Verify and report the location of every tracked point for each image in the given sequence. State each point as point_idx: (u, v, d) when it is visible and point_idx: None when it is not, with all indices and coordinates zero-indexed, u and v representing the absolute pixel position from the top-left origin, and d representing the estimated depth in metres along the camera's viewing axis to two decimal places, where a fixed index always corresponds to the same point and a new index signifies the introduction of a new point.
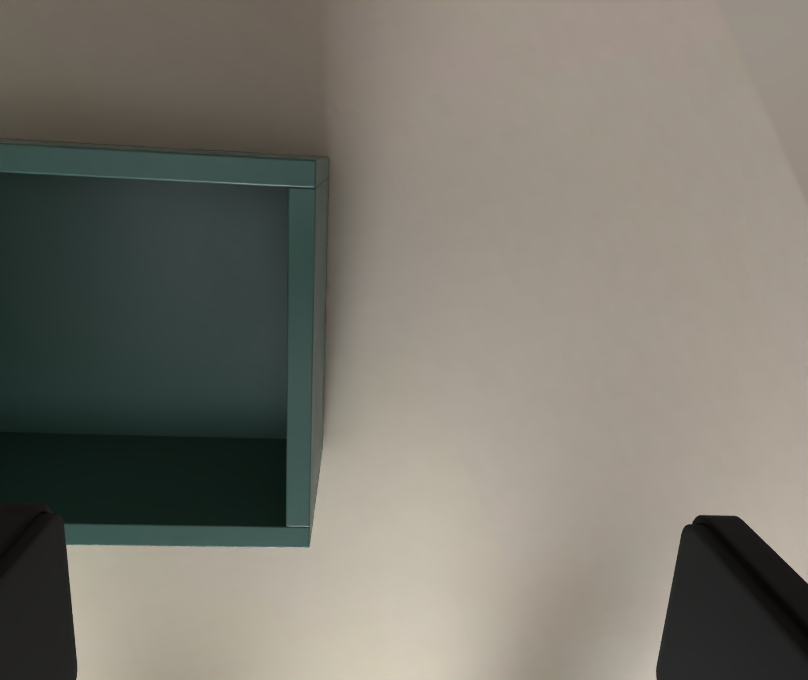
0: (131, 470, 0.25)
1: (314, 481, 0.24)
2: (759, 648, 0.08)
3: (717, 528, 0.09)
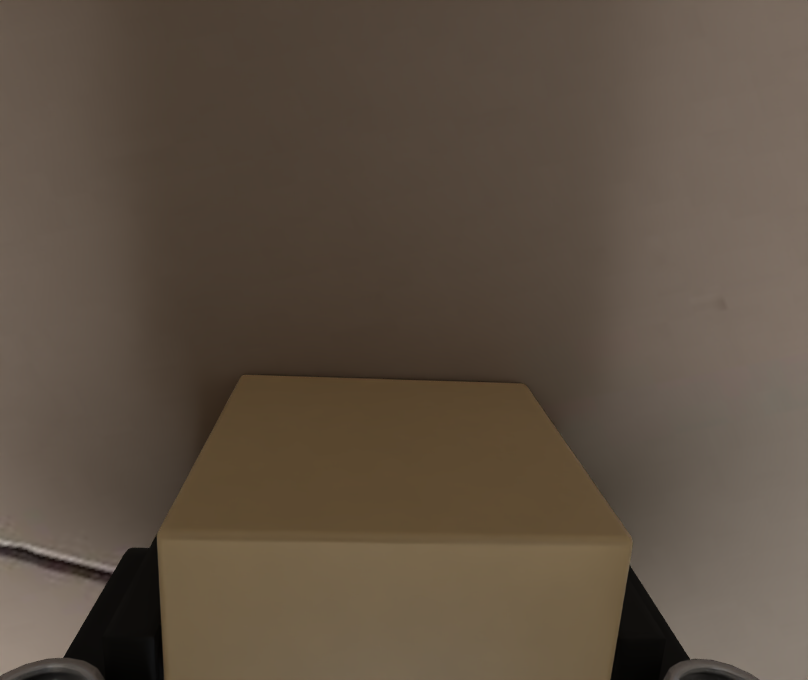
0: None
1: None
2: None
3: None
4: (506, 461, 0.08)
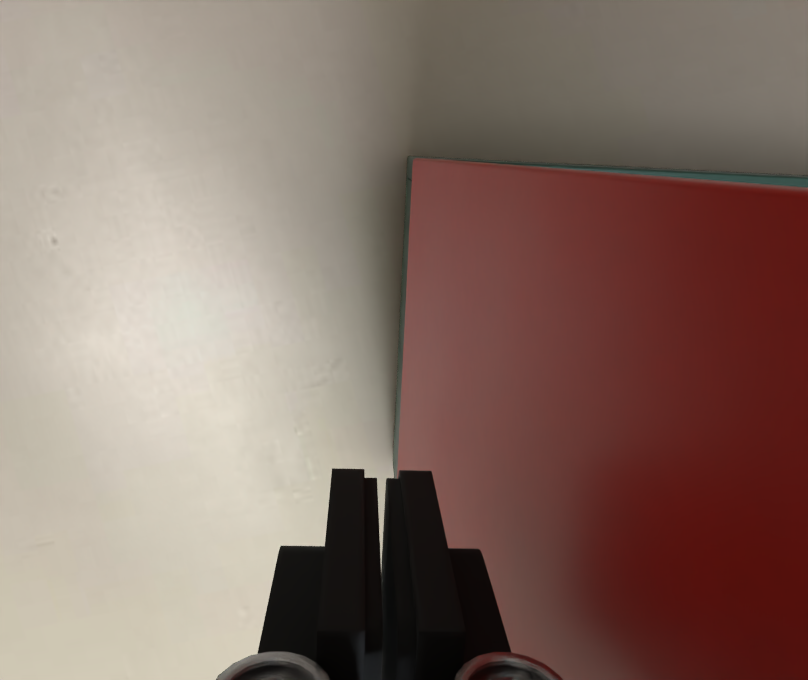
0: None
1: None
2: (390, 580, 0.09)
3: (404, 480, 0.10)
4: None
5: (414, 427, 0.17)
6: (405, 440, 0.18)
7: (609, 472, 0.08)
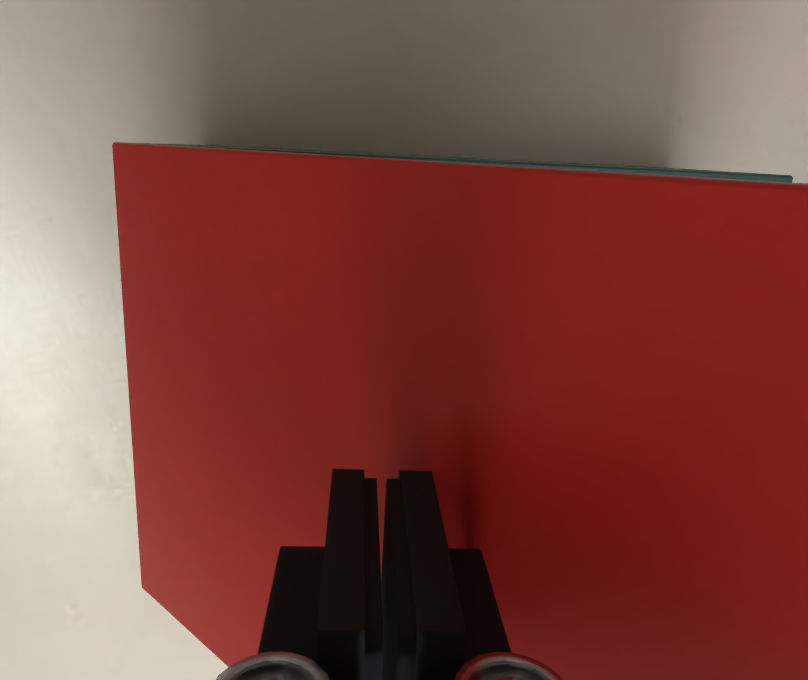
0: None
1: None
2: (390, 580, 0.09)
3: (403, 480, 0.10)
4: None
5: (158, 417, 0.17)
6: (144, 433, 0.18)
7: (433, 391, 0.11)
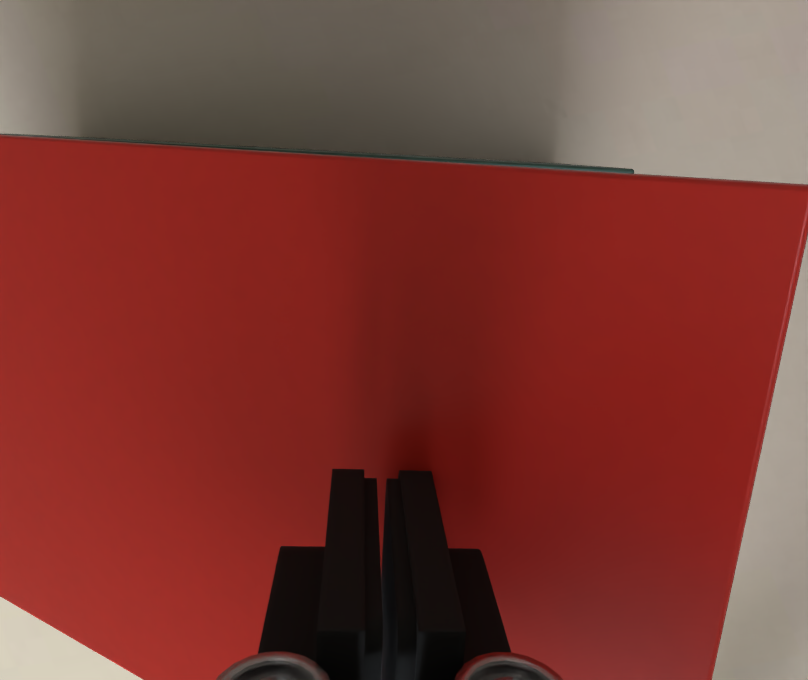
0: None
1: None
2: (390, 580, 0.09)
3: (404, 480, 0.10)
4: None
5: None
6: None
7: (264, 352, 0.12)
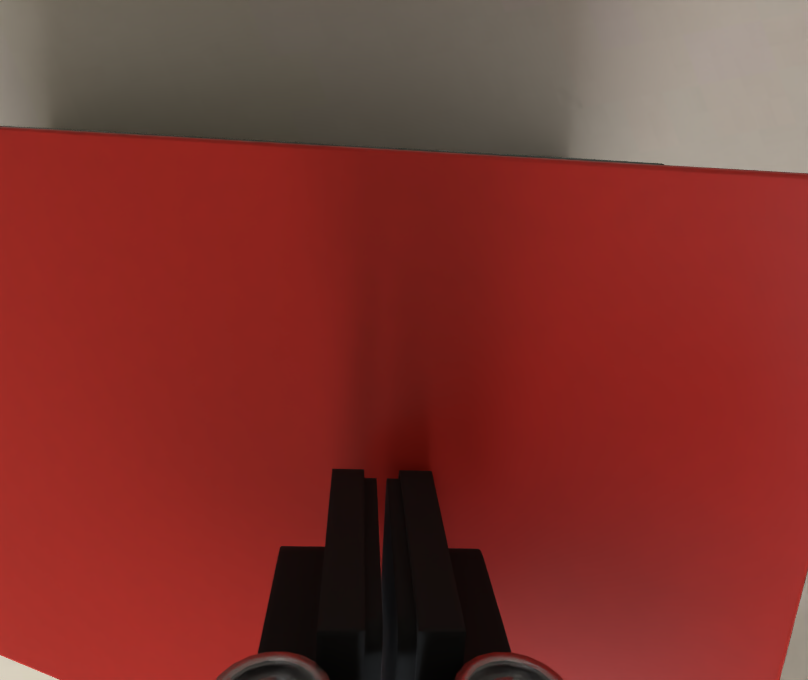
0: None
1: None
2: (390, 580, 0.09)
3: (404, 480, 0.10)
4: None
5: None
6: None
7: (296, 358, 0.11)
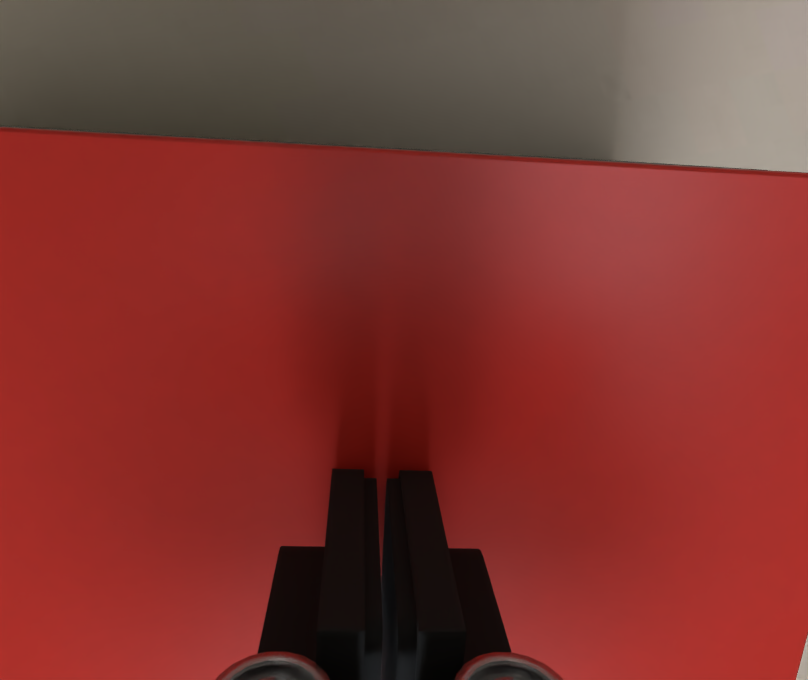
0: None
1: None
2: (390, 580, 0.09)
3: (404, 480, 0.10)
4: None
5: None
6: None
7: (358, 378, 0.11)
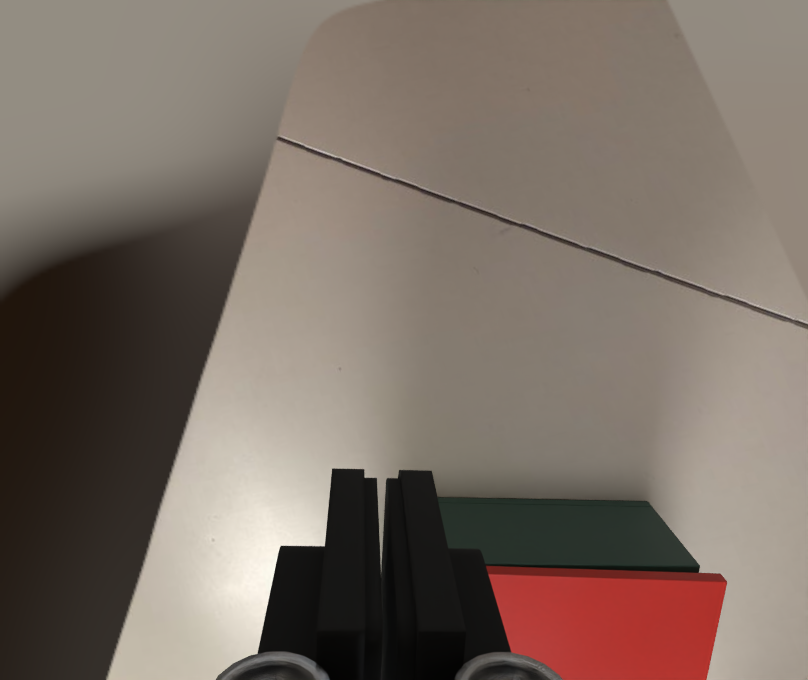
0: None
1: None
2: (390, 580, 0.09)
3: (404, 480, 0.10)
4: None
5: None
6: None
7: (584, 628, 0.40)
